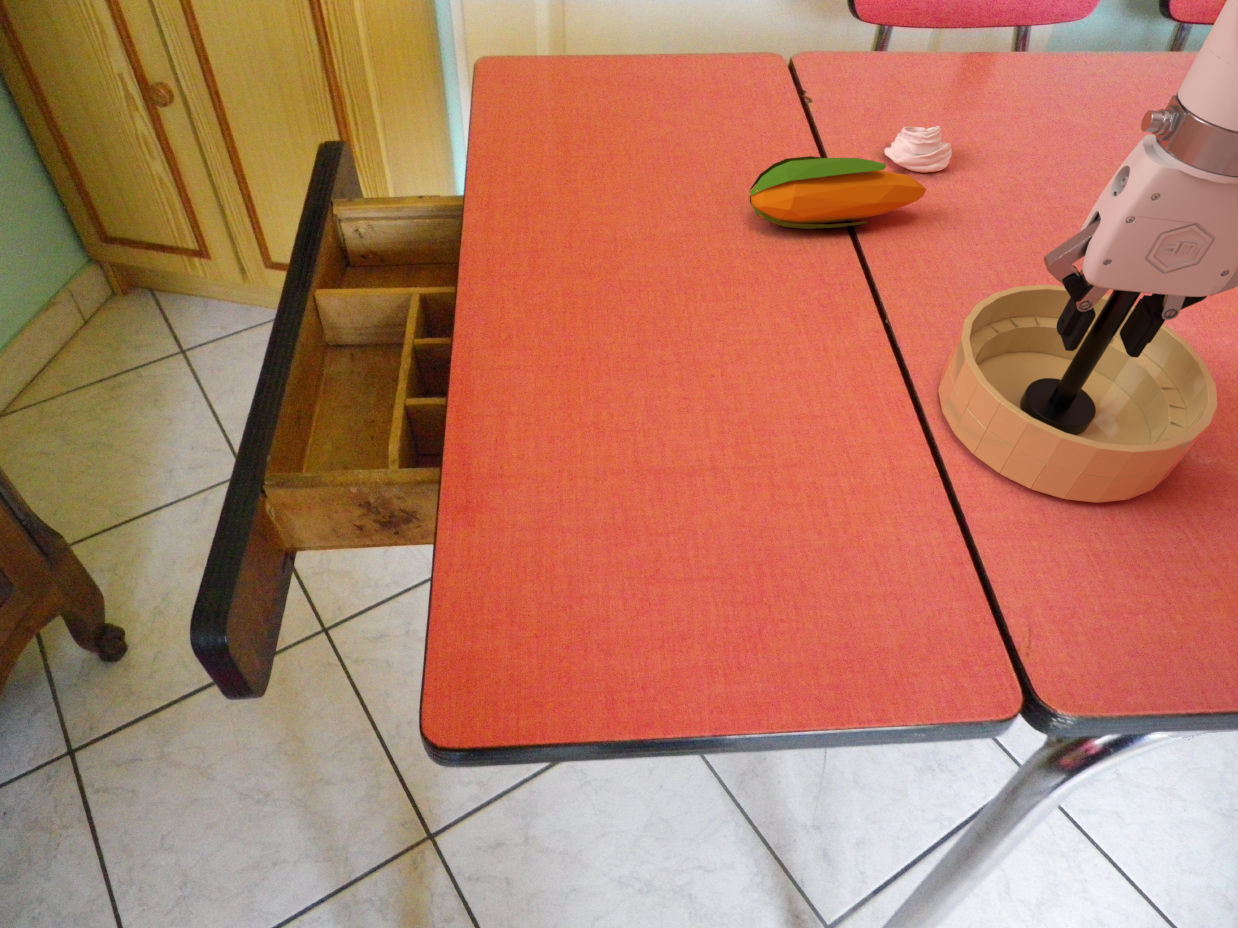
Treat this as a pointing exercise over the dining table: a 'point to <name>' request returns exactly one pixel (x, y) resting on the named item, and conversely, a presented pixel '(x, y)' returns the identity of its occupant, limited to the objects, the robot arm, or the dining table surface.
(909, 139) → the whipped cream
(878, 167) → the corn
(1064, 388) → the black plunger
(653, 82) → the dining table surface
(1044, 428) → the bowl
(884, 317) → the dining table surface
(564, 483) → the dining table surface
